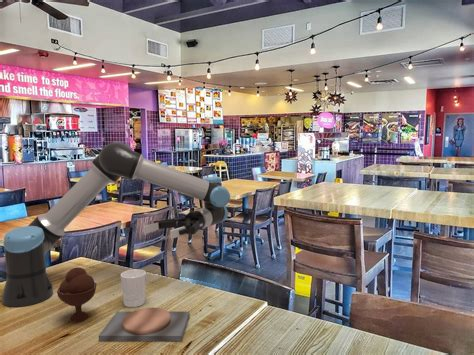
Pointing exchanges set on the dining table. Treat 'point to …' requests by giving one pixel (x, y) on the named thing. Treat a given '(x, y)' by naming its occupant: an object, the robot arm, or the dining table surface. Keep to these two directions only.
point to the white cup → (133, 287)
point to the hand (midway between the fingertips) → (157, 232)
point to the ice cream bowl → (77, 291)
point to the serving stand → (146, 325)
